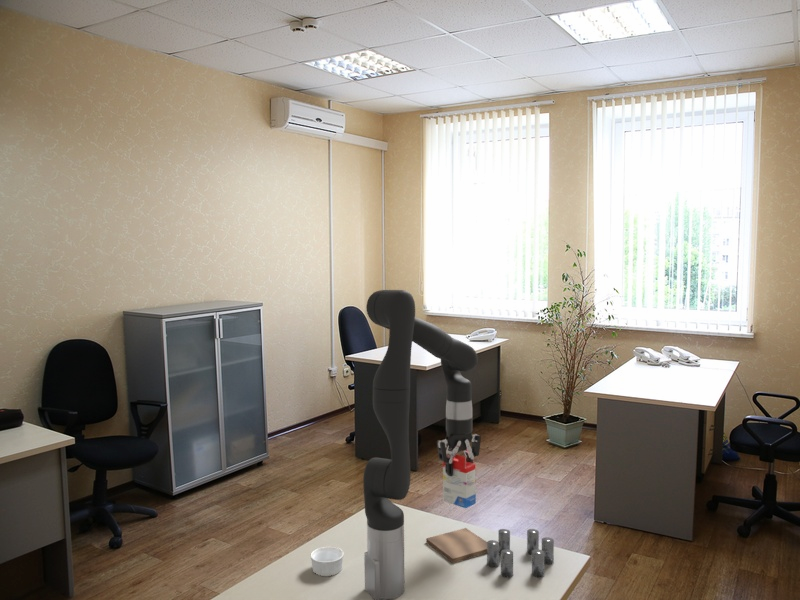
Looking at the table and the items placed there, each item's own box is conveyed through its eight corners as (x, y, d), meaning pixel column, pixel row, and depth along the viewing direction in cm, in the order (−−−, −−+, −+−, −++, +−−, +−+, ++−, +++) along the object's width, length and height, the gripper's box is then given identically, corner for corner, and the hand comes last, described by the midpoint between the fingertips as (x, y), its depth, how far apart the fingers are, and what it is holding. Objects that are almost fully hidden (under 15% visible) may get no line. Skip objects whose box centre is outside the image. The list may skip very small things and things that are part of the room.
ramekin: (326, 558, 168) (326, 543, 168) (350, 567, 163) (350, 551, 163) (303, 571, 161) (303, 555, 161) (328, 581, 156) (328, 565, 156)
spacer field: (516, 586, 153) (516, 563, 153) (475, 557, 168) (475, 536, 168) (566, 568, 161) (566, 547, 161) (524, 542, 176) (524, 522, 176)
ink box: (476, 503, 172) (476, 453, 171) (465, 509, 169) (466, 457, 168) (452, 496, 178) (452, 447, 177) (442, 501, 175) (442, 451, 174)
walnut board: (452, 563, 165) (452, 558, 165) (426, 542, 177) (426, 538, 177) (494, 550, 172) (494, 546, 171) (465, 531, 184) (465, 527, 184)
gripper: (472, 409, 179) (472, 465, 180) (430, 415, 172) (430, 473, 173) (487, 415, 172) (487, 473, 173) (445, 421, 165) (445, 482, 166)
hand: (459, 473), depth 173 cm, fingers closed on ink box, 6 cm apart
